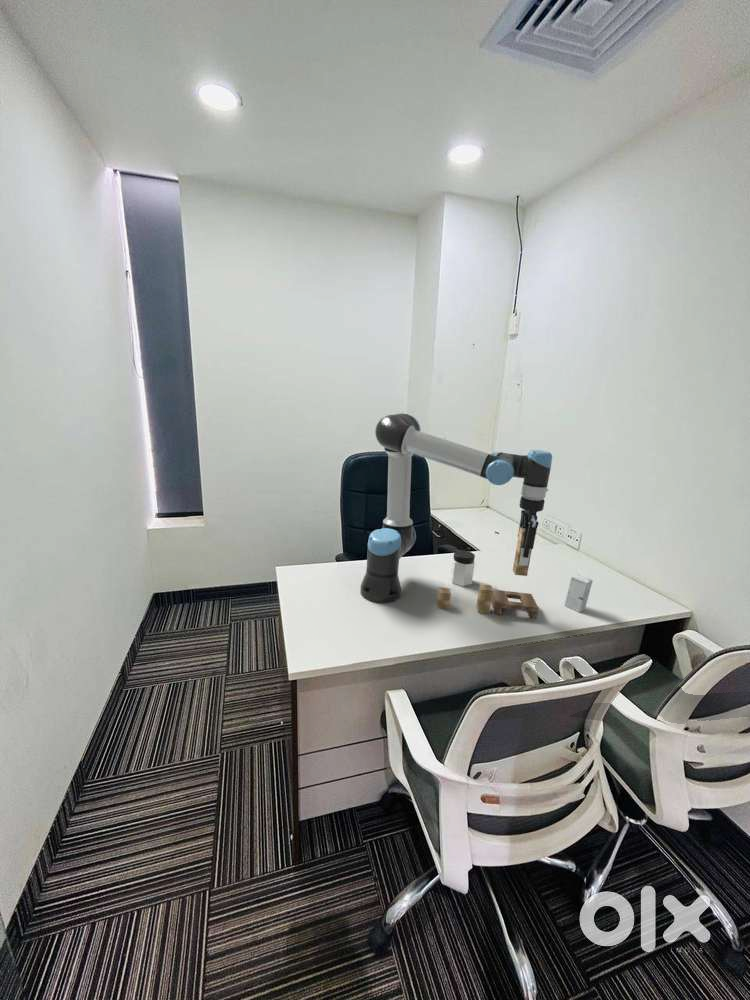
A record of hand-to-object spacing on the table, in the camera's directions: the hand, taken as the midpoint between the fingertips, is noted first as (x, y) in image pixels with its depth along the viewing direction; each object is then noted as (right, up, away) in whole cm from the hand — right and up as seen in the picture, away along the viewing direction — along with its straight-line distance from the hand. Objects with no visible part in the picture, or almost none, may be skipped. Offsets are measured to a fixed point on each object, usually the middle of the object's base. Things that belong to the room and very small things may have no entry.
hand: (521, 562), depth 143 cm
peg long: (0, -4, +1) cm, 4 cm away
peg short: (-26, -16, +5) cm, 31 cm away
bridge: (-1, -18, +5) cm, 19 cm away
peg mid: (-13, -18, +3) cm, 22 cm away
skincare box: (+23, -19, +10) cm, 31 cm away
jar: (-16, -12, +24) cm, 31 cm away
